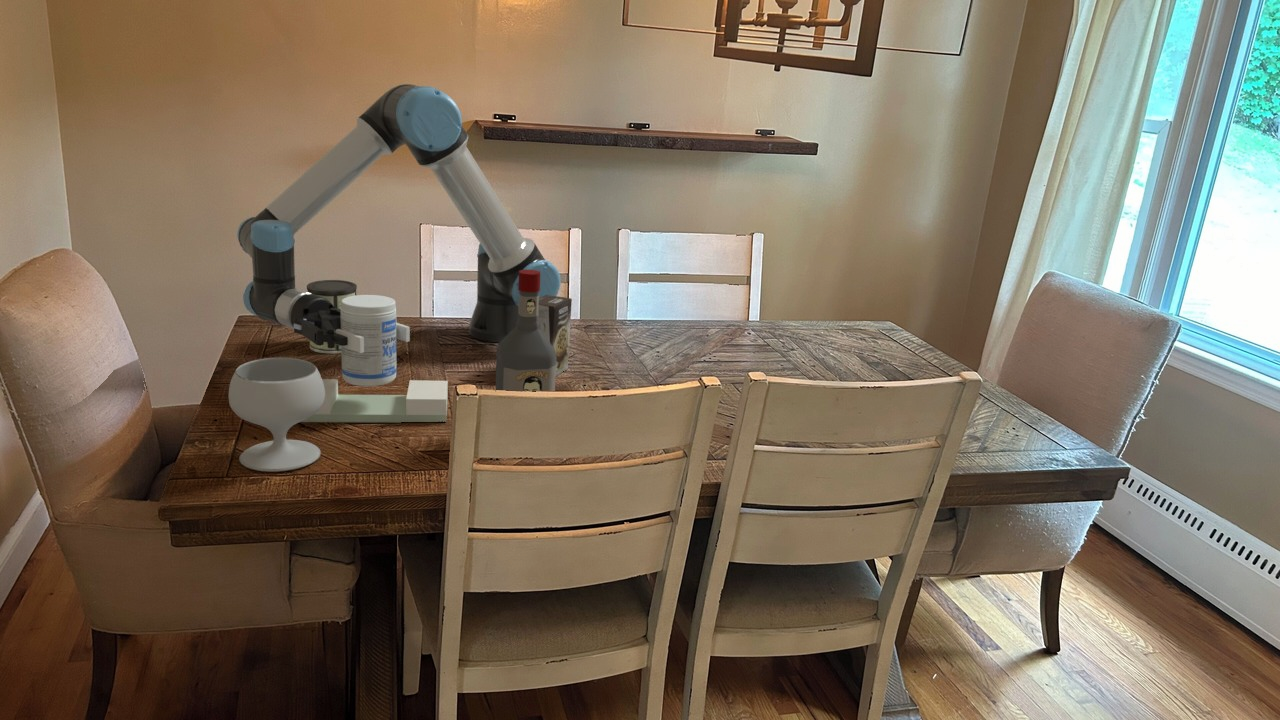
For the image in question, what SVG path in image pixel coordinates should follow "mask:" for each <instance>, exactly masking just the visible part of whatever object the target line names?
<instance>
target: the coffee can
mask: <svg viewBox="0 0 1280 720" xmlns="http://www.w3.org/2000/svg"><path fill="white" fill-rule="evenodd" d="M357 286H358V285H357V284H356V283H354V282H353V281H348V280H342V279H329V280H328V279H325V280H323V279H322V280H317V281H312V282H308V284H307V285H306V290H307V292H308V293H311V294H314V295H317V296H320V297H323V298H326V299H328V300H329V301H330V302H331V303H332V305H333V306H334V308H338V309H340V310H341V300H342V299H344V298H346V297H349V296H356V295H357V290H358V287H357ZM334 332H335V333H336V330H334ZM309 350H311V351H313V352H315V353H320V354H329V355H331V354H333V355H336V354H341V346H339V345H336V344H335V348H328V344H327V342H324V344H323V345H321V346H319V345H316V344H315V343H313V342H312V341H310V340H309Z"/></svg>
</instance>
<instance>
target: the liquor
mask: <svg viewBox="0 0 1280 720" xmlns="http://www.w3.org/2000/svg"><path fill="white" fill-rule="evenodd" d="M518 290H519V308H518V320H517V322H516V327H515V328H514V329H513V330H512V331H511V332H510V333H509V334H508V335H507V336H506V337H505V338H504V339H503V340H501V341H500V342H498V346H497V347H496V361H495V362H496V363H495V365H496V367H495V391H496V390H506V391H532V392H536V391H555V392H556V378H557V376H556V359H557V356H556V352H555V349H554V348H553V346H552V345H551V344H550V342H549V341H548V340H547V338H546V337H545V336H544V334H543V333H542V332H541V330H540V329H539V323H538V302H539V291H540V272H539V271H536V270H520V271H519V286H518Z"/></svg>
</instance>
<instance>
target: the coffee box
mask: <svg viewBox="0 0 1280 720" xmlns="http://www.w3.org/2000/svg"><path fill="white" fill-rule="evenodd" d="M572 301H573V299H572V298H570V297H566V296H565V297H563V296H558V295H557V296H550V295H545V296H543V297H540V298H539V302H538V323H539V329H540V330H541V332H542V333H543V334H544V336H545V337H546V338H547V340H548V341H549V342H550V344H551V345H552V346H553V348H554V349H555V352H556V356H557V359H556V377H558V376H559V375H561V374H562V373H564V372H566V371H567V370H568V369H569V356H570V355H569V354H570V338H571V337H570V333H571V332H570V331H571V316H572ZM565 370H566V371H565ZM563 371H564V372H563Z"/></svg>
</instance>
